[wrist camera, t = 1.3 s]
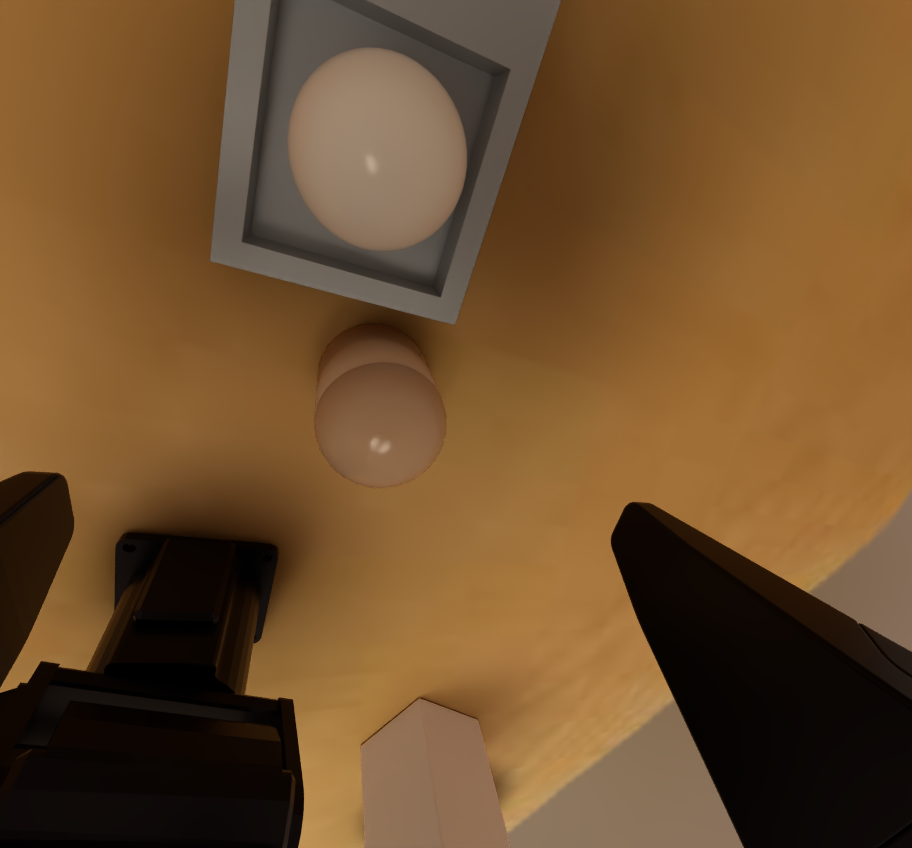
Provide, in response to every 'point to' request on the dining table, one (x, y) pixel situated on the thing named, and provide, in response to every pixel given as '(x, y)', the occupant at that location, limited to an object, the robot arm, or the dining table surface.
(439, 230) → the grey flat rectangular tray
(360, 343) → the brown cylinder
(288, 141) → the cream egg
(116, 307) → the dining table surface
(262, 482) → the dining table surface
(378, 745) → the milk
